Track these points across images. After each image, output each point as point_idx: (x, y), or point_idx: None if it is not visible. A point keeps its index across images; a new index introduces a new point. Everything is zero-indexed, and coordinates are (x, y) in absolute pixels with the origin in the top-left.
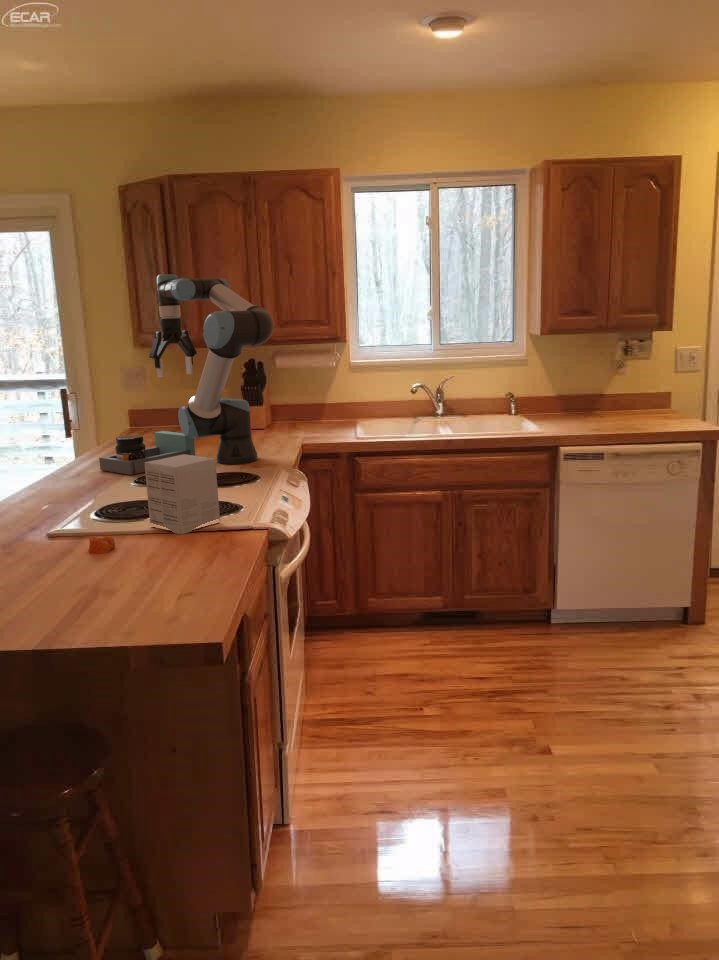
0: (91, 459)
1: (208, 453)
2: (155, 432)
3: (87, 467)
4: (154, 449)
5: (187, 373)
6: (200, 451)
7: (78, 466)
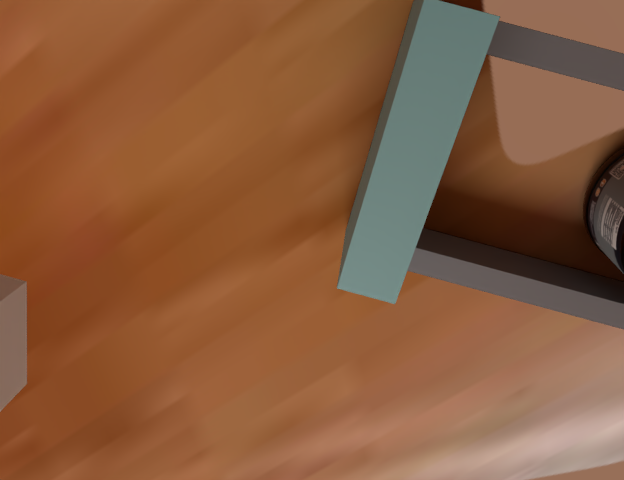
0: (449, 472)
1: (203, 76)
2: (393, 299)
3: (607, 403)
4: (429, 248)
5: (19, 369)
6: (175, 151)
7: (589, 443)
